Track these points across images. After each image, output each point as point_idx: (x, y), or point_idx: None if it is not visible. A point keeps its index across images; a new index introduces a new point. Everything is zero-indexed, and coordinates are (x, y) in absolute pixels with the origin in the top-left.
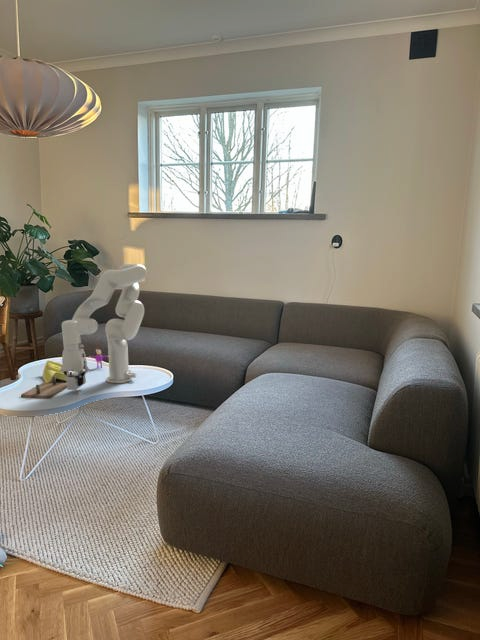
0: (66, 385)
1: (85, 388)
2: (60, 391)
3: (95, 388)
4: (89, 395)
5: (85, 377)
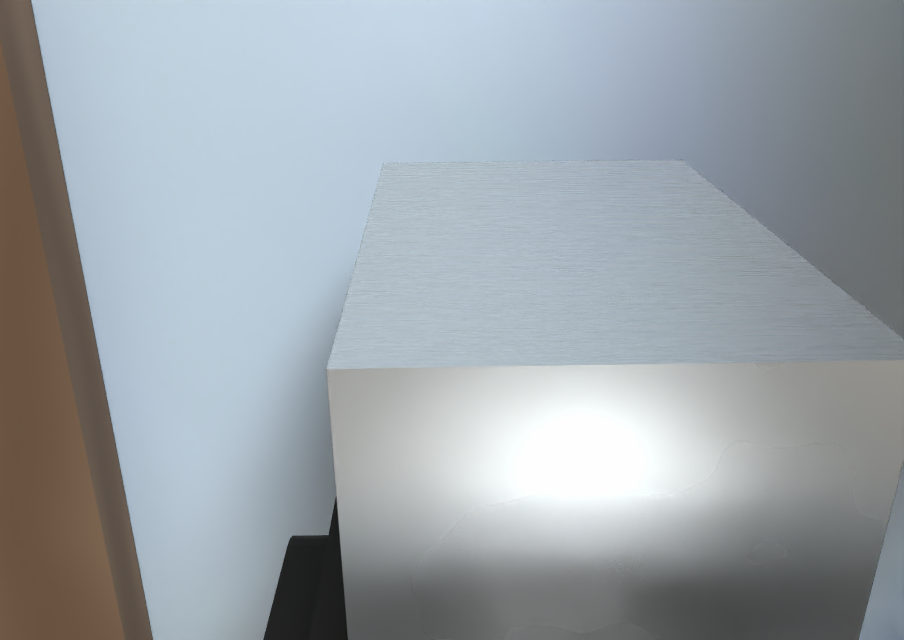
0: (10, 178)
1: (605, 128)
2: (116, 481)
3: (892, 87)
4: (883, 560)
5: (750, 219)
